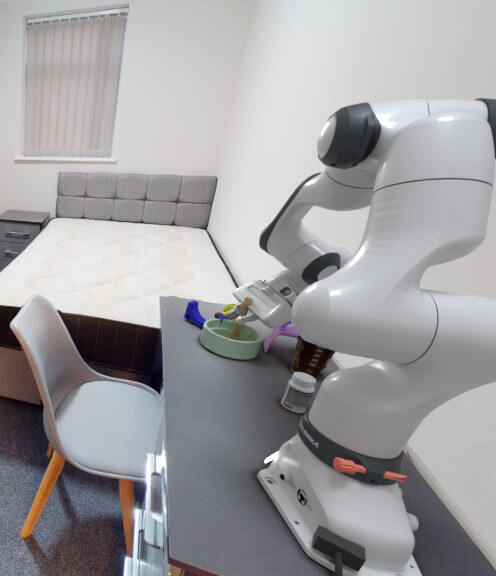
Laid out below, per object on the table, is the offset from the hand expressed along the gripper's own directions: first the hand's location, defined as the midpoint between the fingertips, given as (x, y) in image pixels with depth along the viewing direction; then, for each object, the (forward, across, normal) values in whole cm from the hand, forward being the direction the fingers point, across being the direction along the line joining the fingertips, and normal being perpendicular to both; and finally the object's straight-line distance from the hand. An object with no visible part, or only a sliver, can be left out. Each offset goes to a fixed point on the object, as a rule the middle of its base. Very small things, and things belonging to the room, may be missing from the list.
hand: (233, 319), depth 107 cm
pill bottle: (+4, +26, +10) cm, 28 cm away
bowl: (+6, 0, +7) cm, 10 cm away
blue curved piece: (+7, -13, +5) cm, 16 cm away
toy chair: (-4, -1, +18) cm, 19 cm away
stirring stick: (+5, 0, +7) cm, 9 cm away
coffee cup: (-5, +10, +18) cm, 21 cm away
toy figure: (+1, -18, +13) cm, 22 cm away
